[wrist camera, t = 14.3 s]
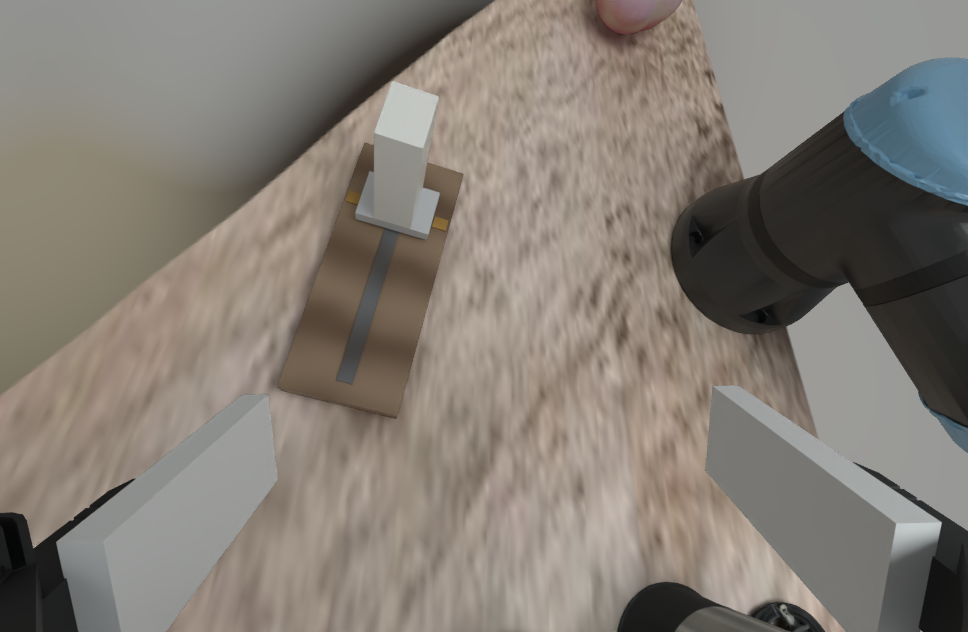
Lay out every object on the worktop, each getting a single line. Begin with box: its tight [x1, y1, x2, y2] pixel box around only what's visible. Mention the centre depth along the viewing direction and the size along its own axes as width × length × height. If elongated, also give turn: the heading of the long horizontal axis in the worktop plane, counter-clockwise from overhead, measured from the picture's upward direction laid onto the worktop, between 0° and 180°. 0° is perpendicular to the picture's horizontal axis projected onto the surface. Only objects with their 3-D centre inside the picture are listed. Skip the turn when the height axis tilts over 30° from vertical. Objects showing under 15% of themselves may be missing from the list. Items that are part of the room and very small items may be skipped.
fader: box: [355, 81, 440, 240], centre depth 36 cm, size 4×6×12 cm, turn 77°
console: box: [277, 143, 463, 418], centre depth 41 cm, size 22×9×2 cm, turn 167°
